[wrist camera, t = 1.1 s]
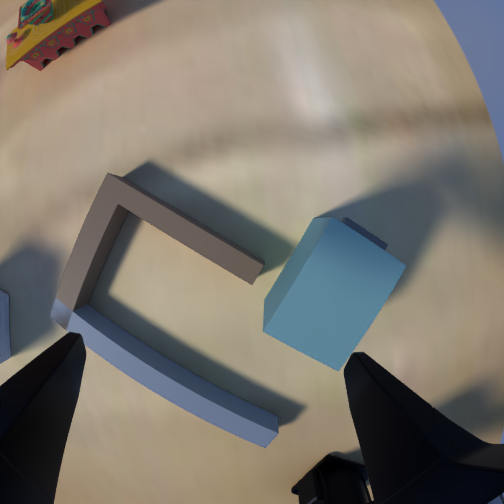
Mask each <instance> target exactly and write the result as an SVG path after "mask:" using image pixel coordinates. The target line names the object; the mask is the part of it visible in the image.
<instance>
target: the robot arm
mask: <svg viewBox="0 0 504 504" xmlns="http://www.w3.org/2000/svg"><path fill="white" fill-rule="evenodd" d="M85 361H86V349H85V345H84V341H83V337H82V335H81V334H80V333H75V332H69V333H67V334H66V335H65V336H63V337H62V338H61V339H59V340H58V341H57V342H55V343H54V344H53V345H51V346H50V347H49V348H48V349H46V350H45V351H44V352H42V353H41V354H40V355H38V356H37V357H36V358H35V359H33V360H32V361H31V362H30V363H28V364H27V365H26V366H24V367H23V368H22V369H21V370H19V371H18V372H17V373H16V374H14V375H13V376H12V377H11V378H9V379H8V380H7V381H6V382H5V383H3V384H2V385H1V386H0V504H54V503H53V502H54V499H55V493H56V487H57V482H58V477H59V472H60V467H61V463H62V458H63V454H64V450H65V445H66V441H67V437H68V433H69V429H70V426H71V422H72V418H73V415H74V411H75V408H76V404H77V401H78V397H79V392H80V386H81V381H82V375H83V370H84V365H85ZM344 378H345V384H346V390H347V395H348V401H349V407H350V411H351V415H352V419H353V422H354V426H355V429H356V433H357V437H358V440H359V444H360V448H361V451H362V455H363V459H364V462H365V466H364V465H361V464H357V463H354V462H351V461H348V460H344V459H341V458H338V457H335V456H332V455H328V456H325V457H324V458H323V459H322V460H321V461H320V462H319V463H318V464H317V465H316V466H315V467H314V468H313V469H312V470H310V471H309V472H308V473H307V474H306V475H305V476H304V477H303V478H302V479H301V480H300V481H299V482H298V483H297V484H296V485H295V486H293V487H292V488H291V492H292V493H293V494H296V495H299V504H504V444H491V443H487V442H484V441H482V440H480V439H479V438H477V437H476V436H474V435H472V434H471V433H469V432H468V431H466V430H465V429H463V428H461V427H460V426H458V425H457V424H455V423H454V422H452V421H451V420H450V419H448V418H447V417H446V416H444V415H443V414H442V413H440V412H439V411H438V410H436V409H435V408H434V407H432V406H431V405H430V404H429V403H427V402H426V401H425V400H424V399H422V398H421V397H420V396H419V395H417V394H416V393H415V392H413V391H412V390H411V389H410V388H408V387H407V386H406V385H405V384H403V383H402V382H401V381H400V380H398V379H397V378H396V377H395V376H393V375H392V374H391V373H390V372H388V371H387V370H386V369H384V368H383V367H382V366H381V365H379V364H378V363H377V362H376V361H374V360H373V359H372V358H371V357H369V356H368V355H367V354H366V353H364V352H354V353H352V354H351V356H350V358H349V360H348V362H347V364H346V366H345V368H344ZM329 459H330V460H329ZM368 478H369V482H370V486H371V490H372V494H373V498H374V501H372V500H371V497H370V494H369V491H368V488H367V485H366V482H365V481H366V480H367V479H368Z"/></svg>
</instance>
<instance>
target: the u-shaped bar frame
mask: <svg viewBox="0 0 504 504" xmlns="http://www.w3.org/2000/svg"><path fill="white" fill-rule="evenodd" d="M129 211H130V212H132V213H134V214H135V215H137V216H138V217H140V218H142V219H143V220H145V221H146V222H148V223H150V224H151V225H153V226H154V227H156V228H158V229H159V230H161V231H163V232H164V233H166V234H168V235H169V236H171V237H172V238H174V239H176V240H177V241H179V242H181V243H182V244H184V245H186V246H187V247H189V248H191V249H192V250H194V251H195V252H197V253H199V254H200V255H202V256H204V257H205V258H207V259H209V260H210V261H212V262H214V263H216V264H217V265H219V266H221V267H222V268H224V269H226V270H227V271H229V272H231V273H232V274H234V275H236V276H237V277H239V278H241V279H243V280H244V281H246V282H248V283H249V284H251V285H253V283H254V281H255V280H256V278H257V276H258V275H259V273H260V271H261V270H262V268H263V266H264V260H262V259H260V258H258V257H257V256H255V255H253V254H252V253H250V252H248V251H247V250H245V249H243V248H241V247H240V246H238V245H236V244H235V243H233V242H231V241H230V240H228V239H226V238H225V237H223V236H221V235H219V234H218V233H216V232H214V231H213V230H211V229H209V228H208V227H206V226H204V225H202V224H201V223H199V222H197V221H196V220H194V219H192V218H191V217H189V216H187V215H185V214H184V213H182V212H180V211H179V210H177V209H175V208H174V207H172V206H170V205H169V204H167V203H165V202H163V201H162V200H160V199H158V198H157V197H155V196H153V195H152V194H150V193H148V192H147V191H145V190H143V189H141V188H140V187H138V186H136V185H135V184H133V183H131V182H130V181H128V180H126V179H125V178H123V177H120V176H117V175H113V174H110V173H107V175H106V177H105V179H104V181H103V183H102V185H101V187H100V189H99V191H98V193H97V195H96V197H95V199H94V201H93V203H92V206H91V208H90V210H89V212H88V214H87V217H86V219H85V221H84V223H83V226H82V228H81V230H80V233H79V235H78V238H77V240H76V243H75V245H74V248H73V250H72V253H71V255H70V258H69V261H68V263H67V266H66V269H65V271H64V274H63V277H62V280H61V283H60V286H59V289H58V292H57V295H56V298H55V301H54V304H53V308H52V311H51V314H50V317H51V318H52V319H53V320H55V321H56V322H57V323H58V324H59V325H61V326H62V327H63V328H64V329H65V330H67V331H68V332H75V333H80V334H81V335H82V337H83V341H84V345H86V346H87V347H88V348H90V349H91V350H92V351H94V352H95V353H97V354H98V355H99V356H101V357H102V358H103V359H105V360H106V361H108V362H109V363H110V364H112V365H113V366H115V367H116V368H118V369H119V370H121V371H122V372H124V373H125V374H127V375H128V376H130V377H131V378H133V379H134V380H136V381H137V382H139V383H140V384H142V385H144V386H145V387H147V388H148V389H150V390H152V391H153V392H155V393H157V394H158V395H160V396H162V397H163V398H165V399H167V400H169V401H170V402H172V403H174V404H176V405H177V406H179V407H181V408H183V409H184V410H186V411H188V412H190V413H192V414H194V415H196V416H198V417H199V418H201V419H203V420H205V421H207V422H209V423H211V424H213V425H215V426H217V427H219V428H221V429H223V430H226V431H228V432H230V433H232V434H234V435H236V436H238V437H241V438H243V439H245V440H247V441H250V442H252V443H254V444H257V445H259V446H261V447H264V448H266V447H267V446H268V445H269V444H270V442H271V441H272V440H273V439H274V438H275V437H276V436H277V435H278V433H279V431H278V416H276V415H274V414H272V413H269V412H267V411H265V410H263V409H261V408H259V407H257V406H255V405H253V404H250V403H248V402H246V401H244V400H242V399H240V398H238V397H236V396H234V395H232V394H231V393H229V392H227V391H225V390H223V389H221V388H219V387H217V386H215V385H213V384H212V383H210V382H208V381H206V380H204V379H203V378H201V377H199V376H197V375H195V374H194V373H192V372H190V371H188V370H187V369H185V368H183V367H182V366H180V365H178V364H177V363H175V362H173V361H172V360H170V359H168V358H167V357H165V356H163V355H162V354H160V353H159V352H157V351H155V350H154V349H152V348H151V347H149V346H147V345H146V344H144V343H143V342H141V341H140V340H138V339H137V338H135V337H134V336H132V335H131V334H129V333H128V332H126V331H125V330H123V329H122V328H121V327H119V326H118V325H116V324H115V323H113V322H112V321H111V320H109V319H108V318H106V317H105V316H104V315H102V314H101V313H99V312H98V311H97V310H95V309H94V308H93V307H91V306H90V305H89V304H88V303H89V300H90V298H91V295H92V293H93V290H94V288H95V285H96V283H97V280H98V278H99V275H100V273H101V271H102V268H103V266H104V264H105V261H106V259H107V257H108V255H109V252H110V250H111V248H112V246H113V244H114V241H115V239H116V237H117V235H118V233H119V231H120V229H121V227H122V225H123V222H124V220H125V218H126V216H127V214H128V212H129Z"/></svg>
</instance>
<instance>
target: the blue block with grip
mask: <svg viewBox="0 0 504 504" xmlns="http://www.w3.org/2000/svg"><path fill="white" fill-rule="evenodd" d="M387 246H388V244H386V243H385V242H383V241H382V240H380V239H379V238H377V237H376V236H374V235H373V234H371V233H370V232H368V231H367V230H365V229H364V228H362V227H361V226H359V225H358V224H356V223H355V222H353V221H352V220H350V219H349V218H343V220H342V221H341V222H340V221H339V220H337V219H336V218H334V217H324V218H313V220H312V221H311V223H310V225H309V226H308V228H307V230H306V232H305V233H304V235H303V237H302V238H301V240H300V242H299V243H298V245H297V247H296V248H295V250H294V252H293V253H292V255H291V257H290V258H289V260H288V262H287V263H286V265H285V267H284V268H283V270H282V272H281V273H280V275H279V277H278V278H277V280H276V282H275V283H274V285H273V286H272V288H271V290H270V291H269V293H268V295H267V296H266V298H265V299H264V319H263V332H265V333H267V334H268V335H270V336H272V337H274V338H276V339H278V340H279V341H281V342H283V343H285V344H287V345H289V346H291V347H292V348H294V349H296V350H298V351H300V352H302V353H304V354H306V355H308V356H309V357H311V358H313V359H315V360H317V361H319V362H321V363H323V364H325V365H327V366H329V367H331V368H333V369H335V370H337V371H339V370H340V368H341V367H342V366H343V364H344V363H345V362H346V360H347V359H348V357H349V356H350V355H351V353H352V352H353V350H354V349H355V347H356V346H357V345H358V343H359V342H360V340H361V339H362V337H363V336H364V334H365V333H366V331H367V330H368V328H369V327H370V325H371V324H372V322H373V321H374V319H375V318H376V316H377V314H378V313H379V311H380V310H381V308H382V306H383V305H384V303H385V302H386V300H387V298H388V297H389V295H390V293H391V292H392V290H393V288H394V287H395V285H396V283H397V282H398V280H399V278H400V276H401V275H402V273H403V271H404V269H405V268H406V265H405V264H403V263H402V262H400V261H399V260H398V259H396V258H395V257H393V256H392V255H390V254H389V253H387V252H386V251H385V249H386V247H387Z"/></svg>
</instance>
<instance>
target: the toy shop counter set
mask: <svg viewBox="0 0 504 504" xmlns="http://www.w3.org/2000/svg"><path fill="white" fill-rule="evenodd" d="M106 12H107V8H106V6H105V5H104V3H103V2H102V0H28V1H27V2H26V3H25V4H23V5H22V6H21V7H20V11H19V22H18V27H17V28H16V29H14V30H13V31H12V32H11V33H10V34H9V35H8V36H7V58H6V70H8V69H9V68H12V67H14V66H15V65H16V64H17V63H18V62H19V61H24V62H26V63H28V64H29V65H31V66H33V67H34V68H36V69H38V70H39V71H41V70H42V69H44V67H45V65H44V60H45V59H51V60H56V59H57V58H59V56H60V53H59V49H60V48H61V47H64V48H68V49H72V48H73V47H75V45H76V40H75V38H76V37H78V36H82V37H85V38H89V37H90V36H92V35H93V29H92V27H94V26H95V25H97V24H98V25H100V26H103V27H107V26H109V25H110V21H109V19H108V17H107V16H106V14H105V13H106Z"/></svg>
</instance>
